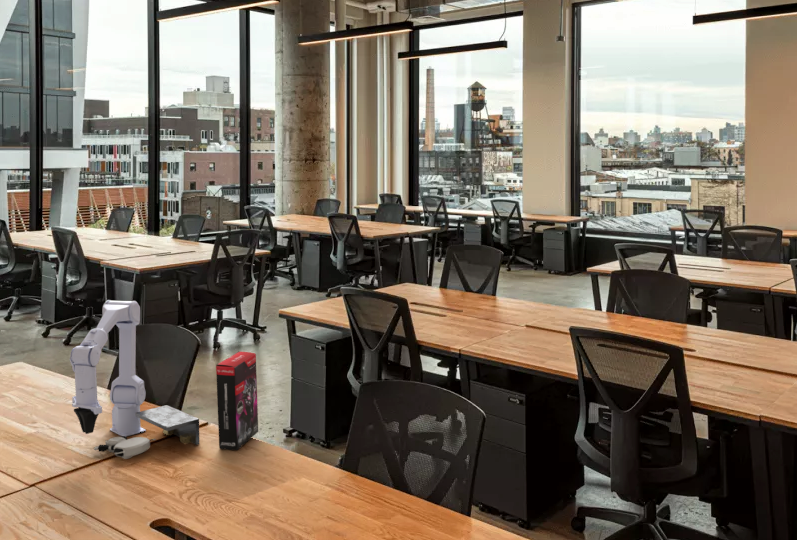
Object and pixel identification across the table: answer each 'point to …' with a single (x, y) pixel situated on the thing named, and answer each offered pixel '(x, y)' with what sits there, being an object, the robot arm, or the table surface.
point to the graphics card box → (237, 400)
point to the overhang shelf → (173, 423)
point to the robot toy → (125, 446)
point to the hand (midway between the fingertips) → (87, 432)
